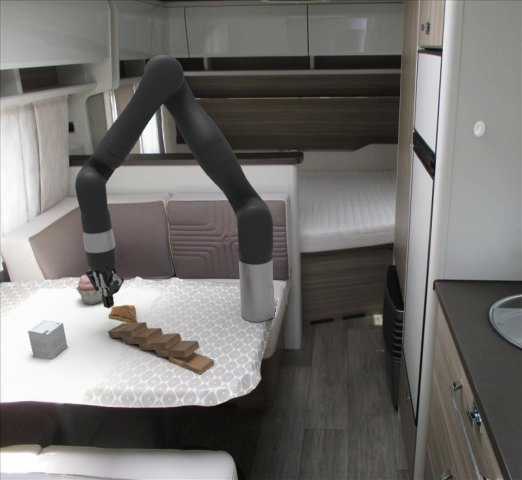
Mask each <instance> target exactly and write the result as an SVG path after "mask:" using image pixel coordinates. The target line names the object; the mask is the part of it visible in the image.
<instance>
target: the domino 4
mask: <svg viewBox="0 0 522 480" xmlns="http://www.w3.org/2000/svg"><path fill="white" fill-rule="evenodd" d="M199 349H200V344H199V341H198V340H181V341H179V342H178V343H176V344H175V345H173V346H172V347H171V348H169V349H160V350H154V351H155V353H156V357H162V358H163V357H165V358H167V357H168V358H169V357H185V358H187V357H188V356H189V355H191V354H192V353H193V352H195V353H196V351H197V350H199Z"/></svg>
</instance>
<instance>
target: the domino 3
mask: <svg viewBox="0 0 522 480" xmlns="http://www.w3.org/2000/svg"><path fill="white" fill-rule="evenodd" d="M179 341H183V340H182V338H181V333H180V332H179V333H176V332H175V333H163V335H161V336H160V337H158V338H157V339H155V340H154V341H152V342H150V343H139V344H138V345H139V346H138V347H139V349H140V351H153V350H154V351H155V350H160V349H169V348H171V347H172V346H173V345H175V344H176V343H178V342H179Z"/></svg>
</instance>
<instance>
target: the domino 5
mask: <svg viewBox="0 0 522 480" xmlns="http://www.w3.org/2000/svg"><path fill="white" fill-rule="evenodd" d="M214 361H215V360H214V359H212V358H209V357H207V356H204V355H202V354H199V353H197V352H196V351H195V352H193V353H192V354H191V355H189V356H188V357H187V358H185V357H168V362H169V363H171V364H174V365H176V366H178V367H182V368H183V369H185V370H189V371H191V372H192V373H195V374H197V375H199V376H200V375H202V374H204V373H205V372H206V371H207V370H209V369H210V368H211V367H212V366H214V364H215V362H214Z"/></svg>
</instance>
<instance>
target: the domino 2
mask: <svg viewBox="0 0 522 480" xmlns="http://www.w3.org/2000/svg"><path fill="white" fill-rule="evenodd" d="M147 328H148V327H147ZM163 334H164V333H163V330H162V328H161V327H152V328H151V327H150V328H148V329H146V330H144V331H143V332H141V333H139V334H138V335H136V336H134V337H121V339H122V341H123V345H124V344H127V345H128V344H130V345H131V344H135V345H136V344H138V345H139V343H150V342H152V341H154V340H155V339H157V338H158V337H160V336H161V335H163Z"/></svg>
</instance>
